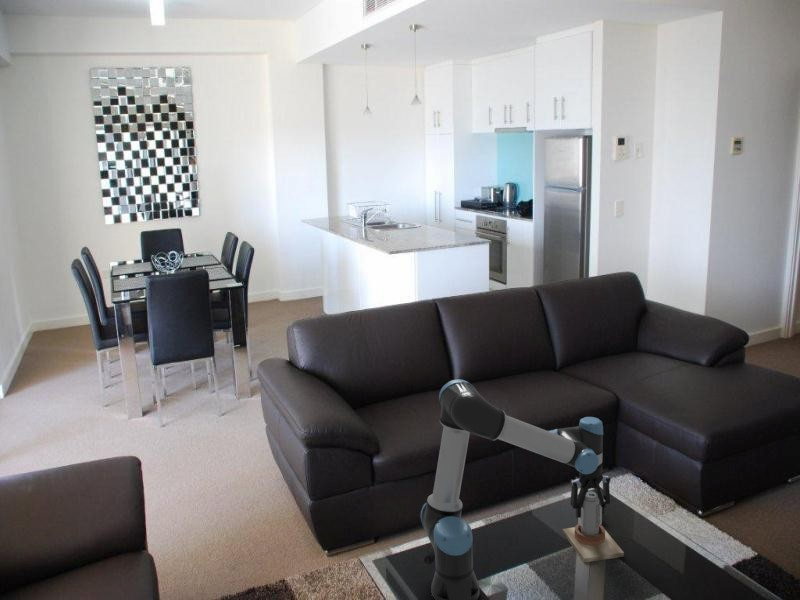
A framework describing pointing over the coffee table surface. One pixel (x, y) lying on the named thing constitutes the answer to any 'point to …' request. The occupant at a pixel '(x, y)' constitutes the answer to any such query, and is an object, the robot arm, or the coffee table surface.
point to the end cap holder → (593, 544)
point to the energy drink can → (591, 514)
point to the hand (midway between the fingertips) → (589, 523)
